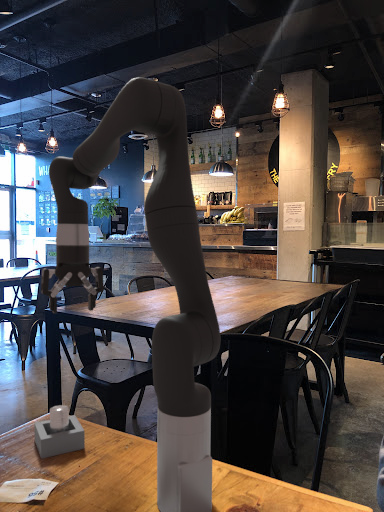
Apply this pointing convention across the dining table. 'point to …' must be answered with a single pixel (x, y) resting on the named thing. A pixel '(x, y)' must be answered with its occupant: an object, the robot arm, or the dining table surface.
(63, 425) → the peg
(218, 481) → the dining table surface
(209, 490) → the robot arm
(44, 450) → the box
